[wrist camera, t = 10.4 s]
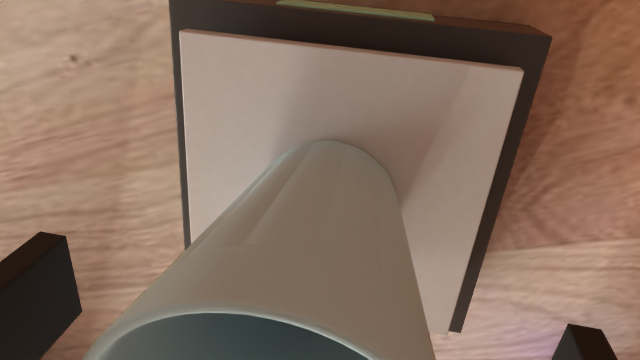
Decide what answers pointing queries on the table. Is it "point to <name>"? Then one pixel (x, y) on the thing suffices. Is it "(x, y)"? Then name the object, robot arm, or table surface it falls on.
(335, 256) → the cup
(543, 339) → the table surface
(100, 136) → the table surface
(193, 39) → the scale
